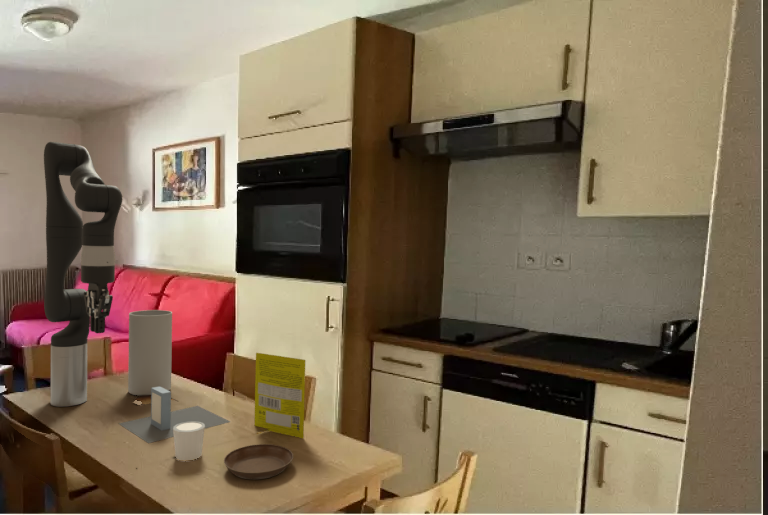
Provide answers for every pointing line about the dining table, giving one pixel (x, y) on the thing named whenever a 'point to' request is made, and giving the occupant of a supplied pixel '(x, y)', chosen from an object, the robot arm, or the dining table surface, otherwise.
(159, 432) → the mat
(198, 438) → the white tapered cup
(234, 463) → the saucer
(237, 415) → the dining table surface
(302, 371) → the food package
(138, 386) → the cylinder vase
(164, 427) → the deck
